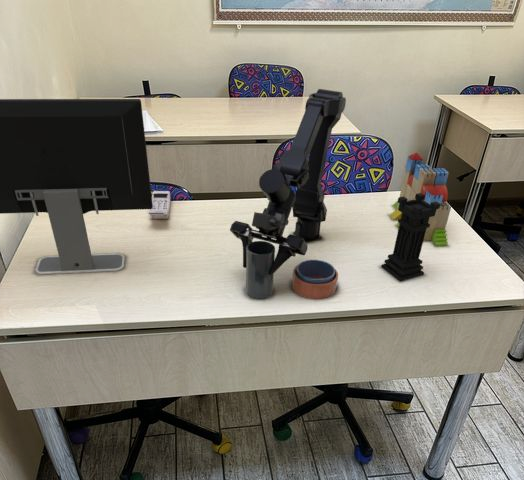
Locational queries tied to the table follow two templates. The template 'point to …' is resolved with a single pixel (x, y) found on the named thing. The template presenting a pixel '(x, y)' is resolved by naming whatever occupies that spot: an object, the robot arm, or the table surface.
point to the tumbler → (259, 269)
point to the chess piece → (410, 237)
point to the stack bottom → (314, 287)
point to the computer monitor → (73, 170)
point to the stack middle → (315, 271)
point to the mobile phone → (160, 205)
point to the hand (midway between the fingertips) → (257, 271)
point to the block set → (426, 195)
